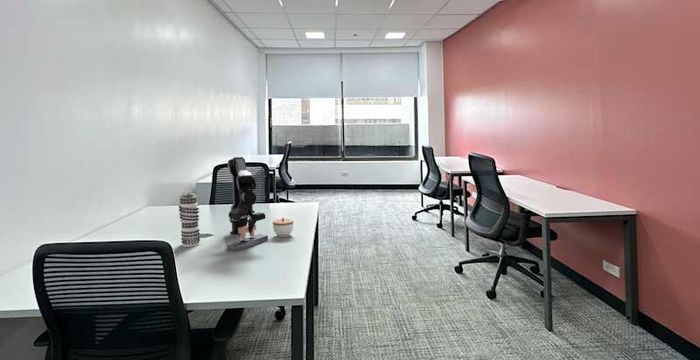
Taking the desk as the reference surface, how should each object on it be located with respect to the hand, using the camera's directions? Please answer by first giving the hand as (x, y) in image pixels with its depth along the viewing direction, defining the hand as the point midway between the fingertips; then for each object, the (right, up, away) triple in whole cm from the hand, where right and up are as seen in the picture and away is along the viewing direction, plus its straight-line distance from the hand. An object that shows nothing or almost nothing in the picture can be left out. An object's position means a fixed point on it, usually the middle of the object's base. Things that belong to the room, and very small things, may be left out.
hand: (247, 232), depth 204 cm
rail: (0, -6, +1) cm, 6 cm away
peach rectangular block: (0, -2, 0) cm, 2 cm away
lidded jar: (+15, -4, +18) cm, 23 cm away
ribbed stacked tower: (-28, -6, +3) cm, 29 cm away
